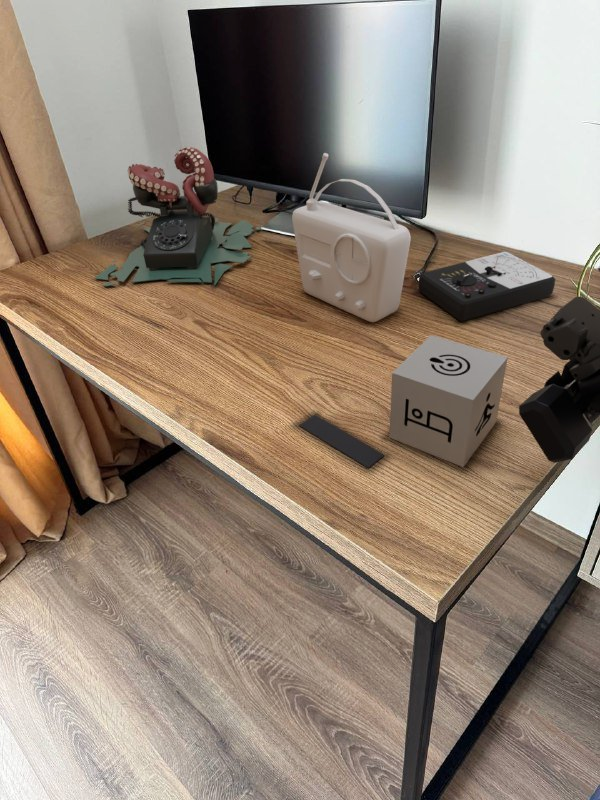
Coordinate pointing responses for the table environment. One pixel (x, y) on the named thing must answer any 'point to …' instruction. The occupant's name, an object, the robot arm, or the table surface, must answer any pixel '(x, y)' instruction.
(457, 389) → the icon cube
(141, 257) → the telephone
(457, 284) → the multimeter
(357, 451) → the felt mark
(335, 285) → the radio
